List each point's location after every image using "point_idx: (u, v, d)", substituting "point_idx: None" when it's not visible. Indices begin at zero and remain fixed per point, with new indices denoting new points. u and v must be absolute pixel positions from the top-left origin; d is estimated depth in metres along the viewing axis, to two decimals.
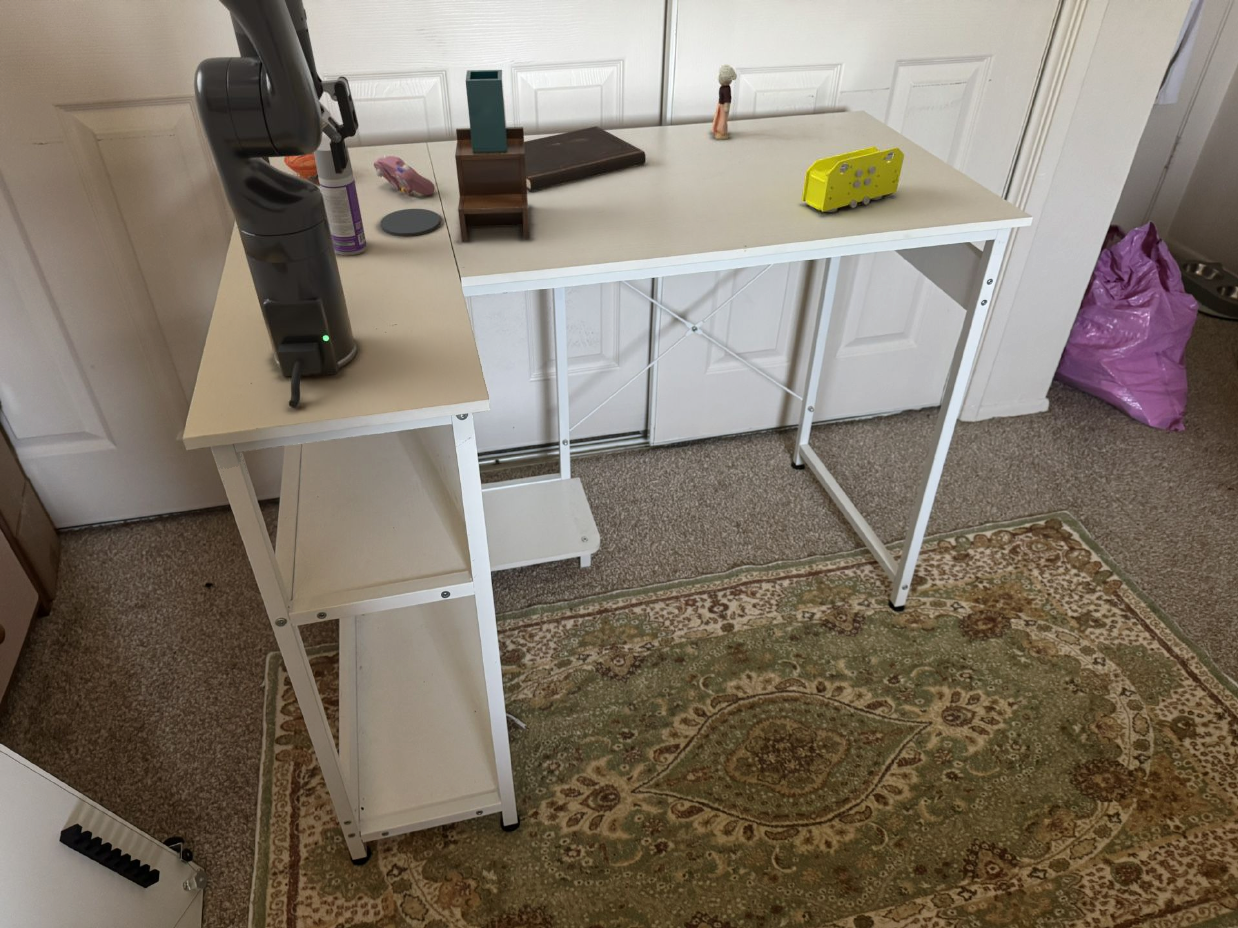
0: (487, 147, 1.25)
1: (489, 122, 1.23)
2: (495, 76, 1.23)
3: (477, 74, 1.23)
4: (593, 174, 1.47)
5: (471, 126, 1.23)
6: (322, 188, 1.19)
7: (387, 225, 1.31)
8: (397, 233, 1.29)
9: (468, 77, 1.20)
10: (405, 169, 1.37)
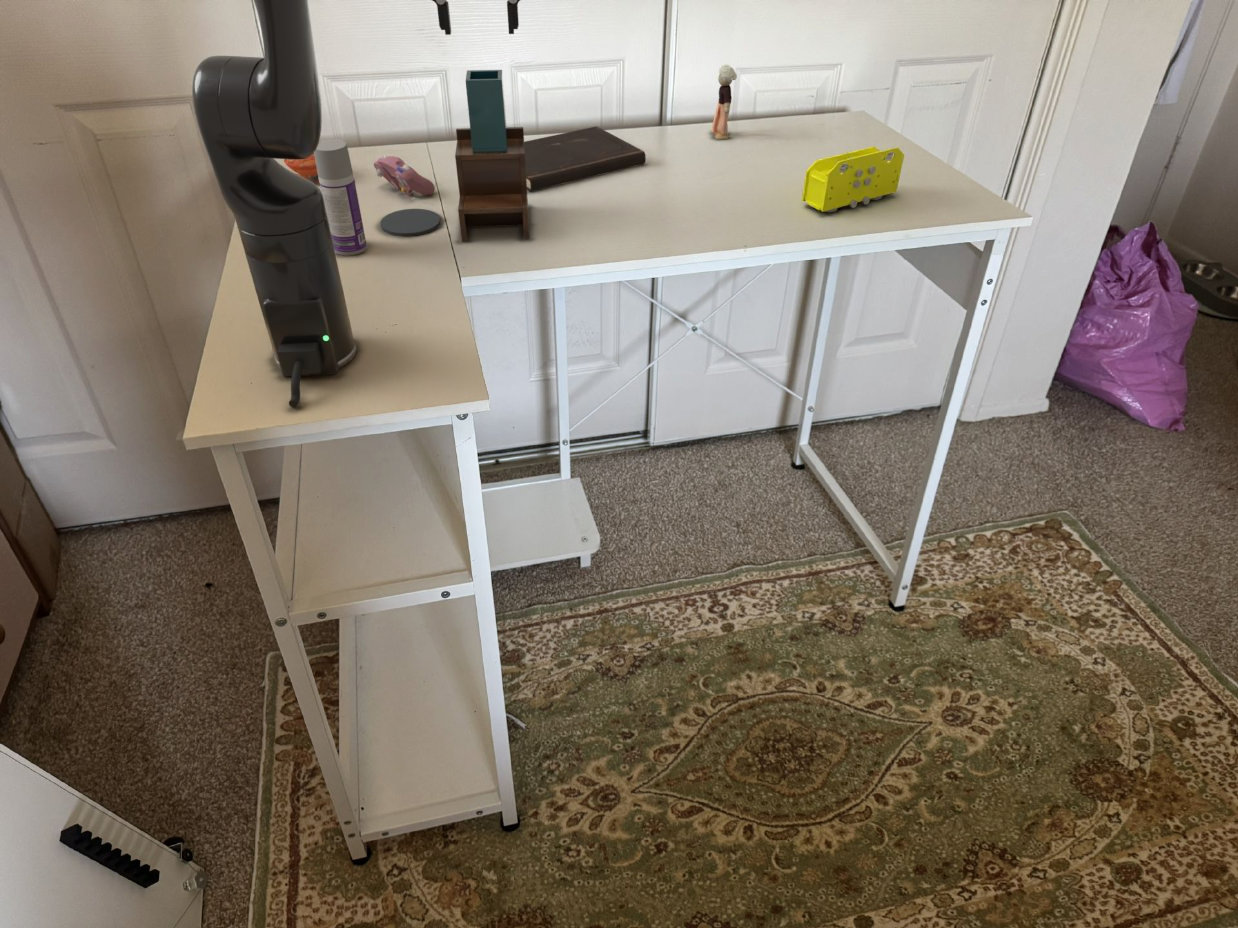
0: (487, 147, 1.25)
1: (489, 122, 1.23)
2: (495, 76, 1.23)
3: (477, 74, 1.23)
4: (593, 174, 1.47)
5: (471, 126, 1.23)
6: (322, 188, 1.19)
7: (387, 225, 1.31)
8: (397, 233, 1.29)
9: (468, 77, 1.20)
10: (405, 169, 1.37)
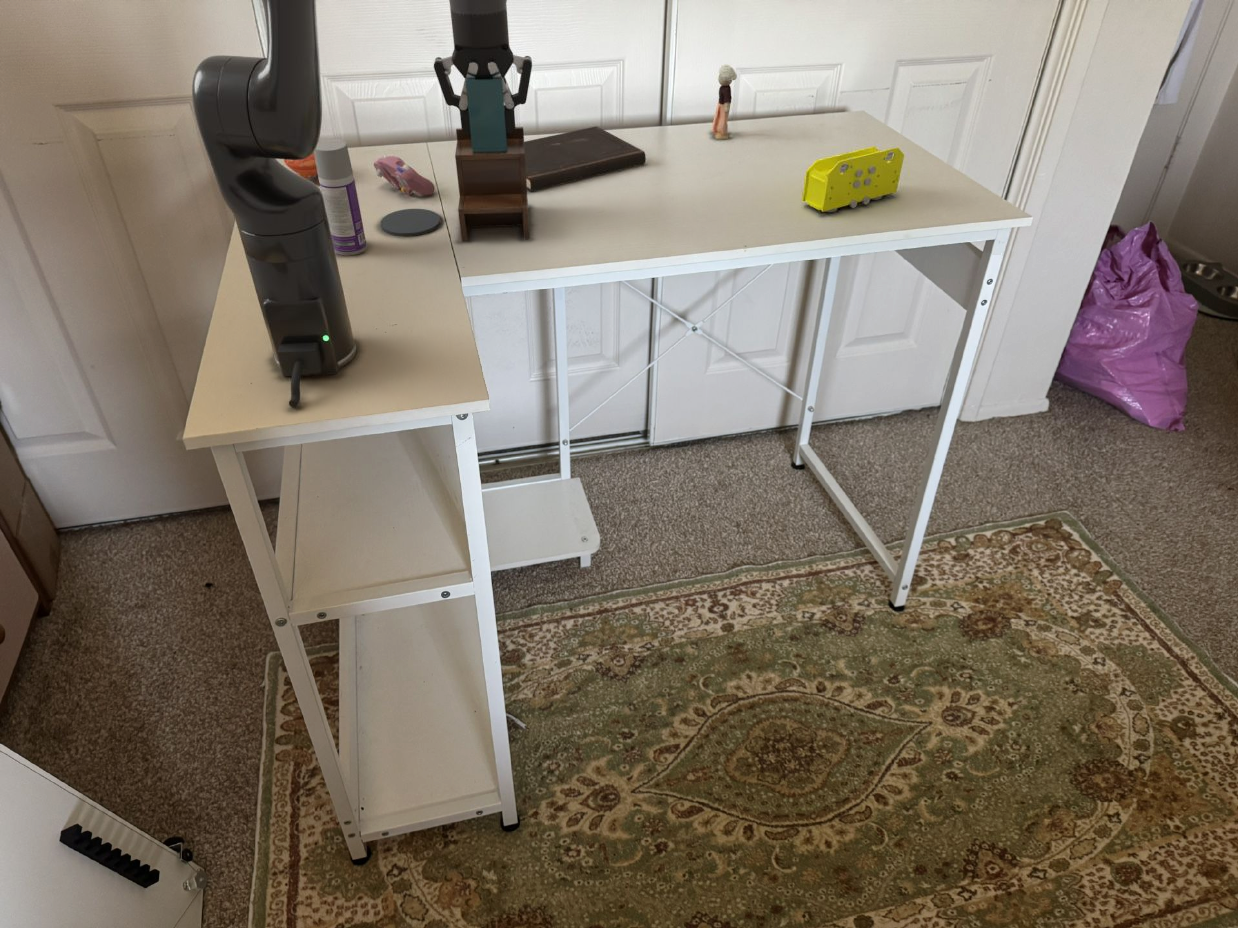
0: (487, 147, 1.25)
1: (489, 122, 1.23)
2: None
3: None
4: (593, 174, 1.47)
5: (471, 126, 1.23)
6: (322, 188, 1.19)
7: (387, 225, 1.31)
8: (397, 233, 1.29)
9: None
10: (405, 169, 1.37)
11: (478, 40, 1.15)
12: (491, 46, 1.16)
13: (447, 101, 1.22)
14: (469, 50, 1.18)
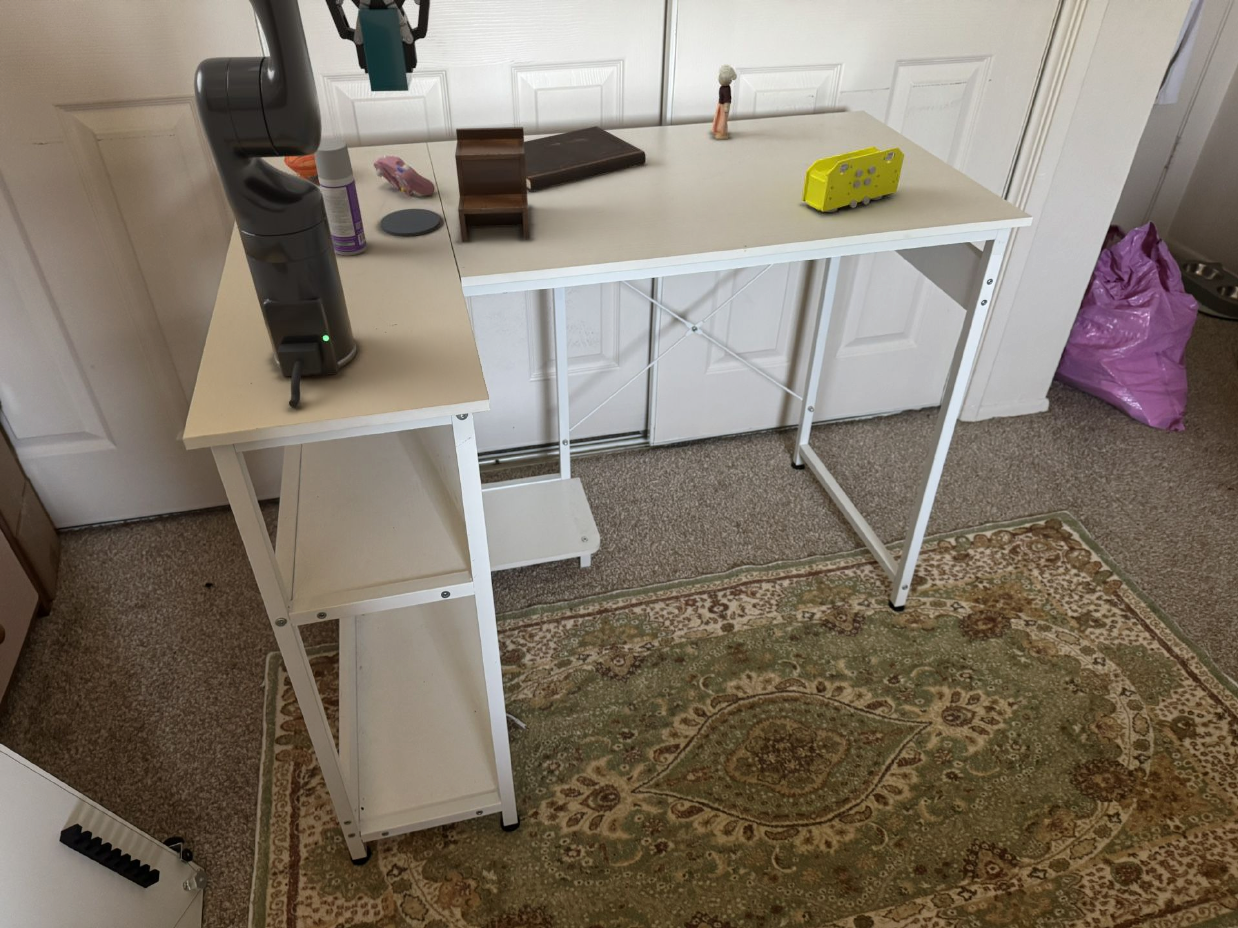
0: (386, 85, 1.18)
1: (387, 57, 1.15)
2: None
3: None
4: (593, 174, 1.47)
5: (367, 61, 1.15)
6: (322, 188, 1.19)
7: (387, 225, 1.31)
8: (397, 233, 1.29)
9: None
10: (405, 169, 1.37)
11: None
12: None
13: (341, 34, 1.14)
14: None
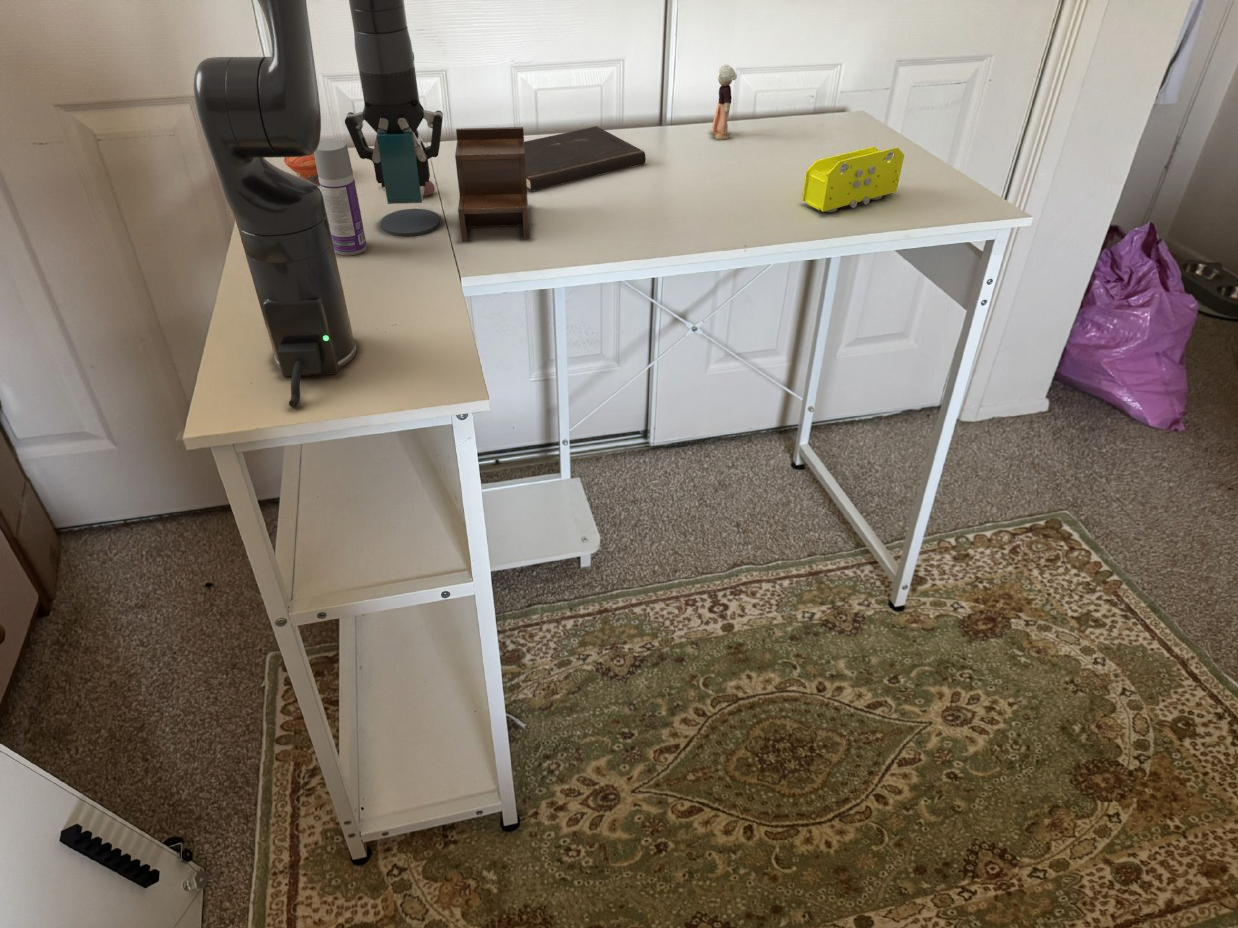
0: (402, 198, 1.28)
1: (402, 174, 1.26)
2: None
3: None
4: (593, 174, 1.47)
5: (385, 178, 1.26)
6: (322, 188, 1.19)
7: (387, 225, 1.31)
8: (397, 233, 1.29)
9: None
10: None
11: (385, 98, 1.17)
12: (399, 103, 1.18)
13: (360, 155, 1.24)
14: (379, 106, 1.21)
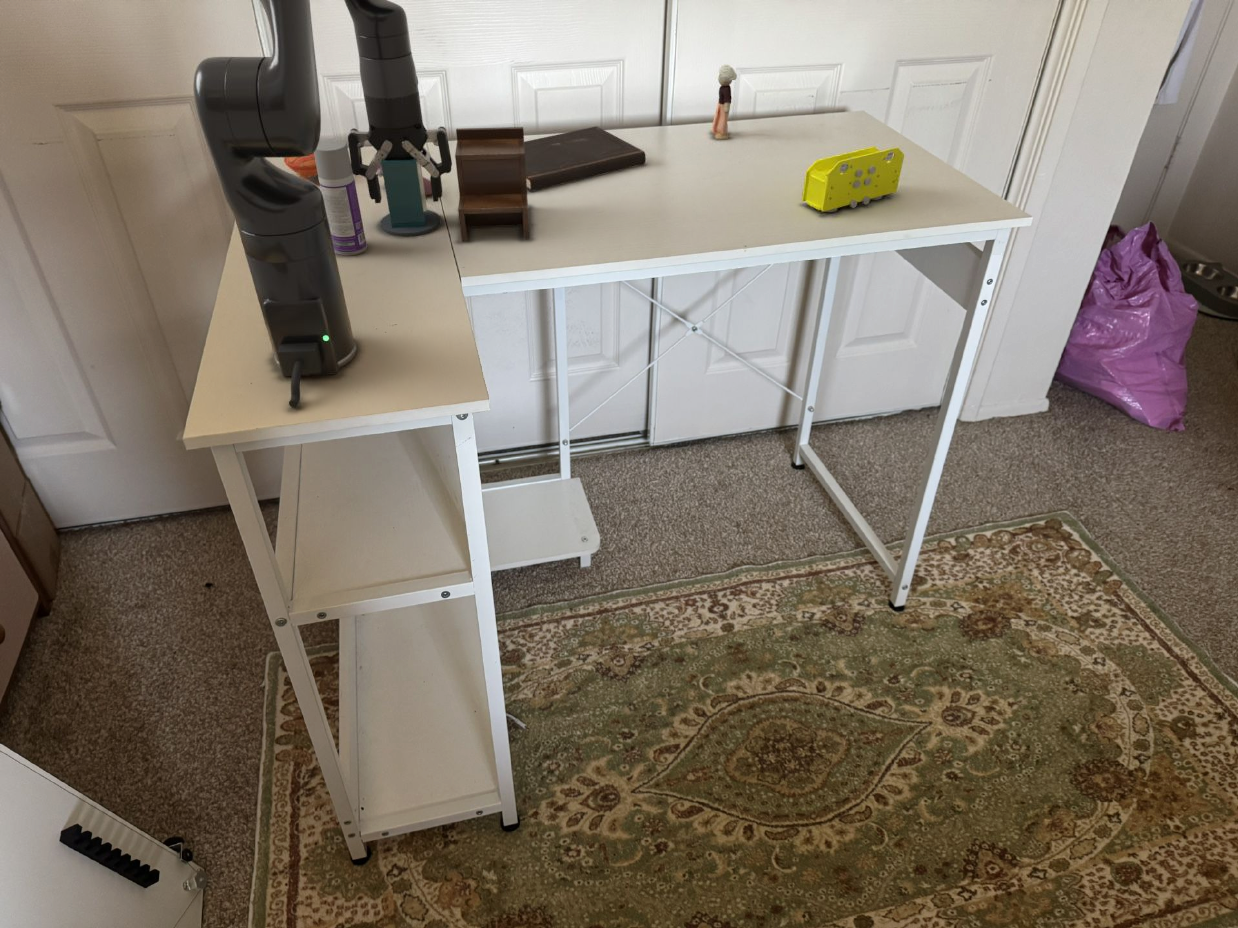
0: (405, 222, 1.30)
1: (406, 199, 1.28)
2: None
3: None
4: (593, 174, 1.47)
5: (389, 203, 1.28)
6: (322, 188, 1.19)
7: (387, 225, 1.31)
8: (397, 233, 1.29)
9: None
10: None
11: (389, 121, 1.19)
12: (403, 127, 1.20)
13: (353, 171, 1.26)
14: (383, 129, 1.23)
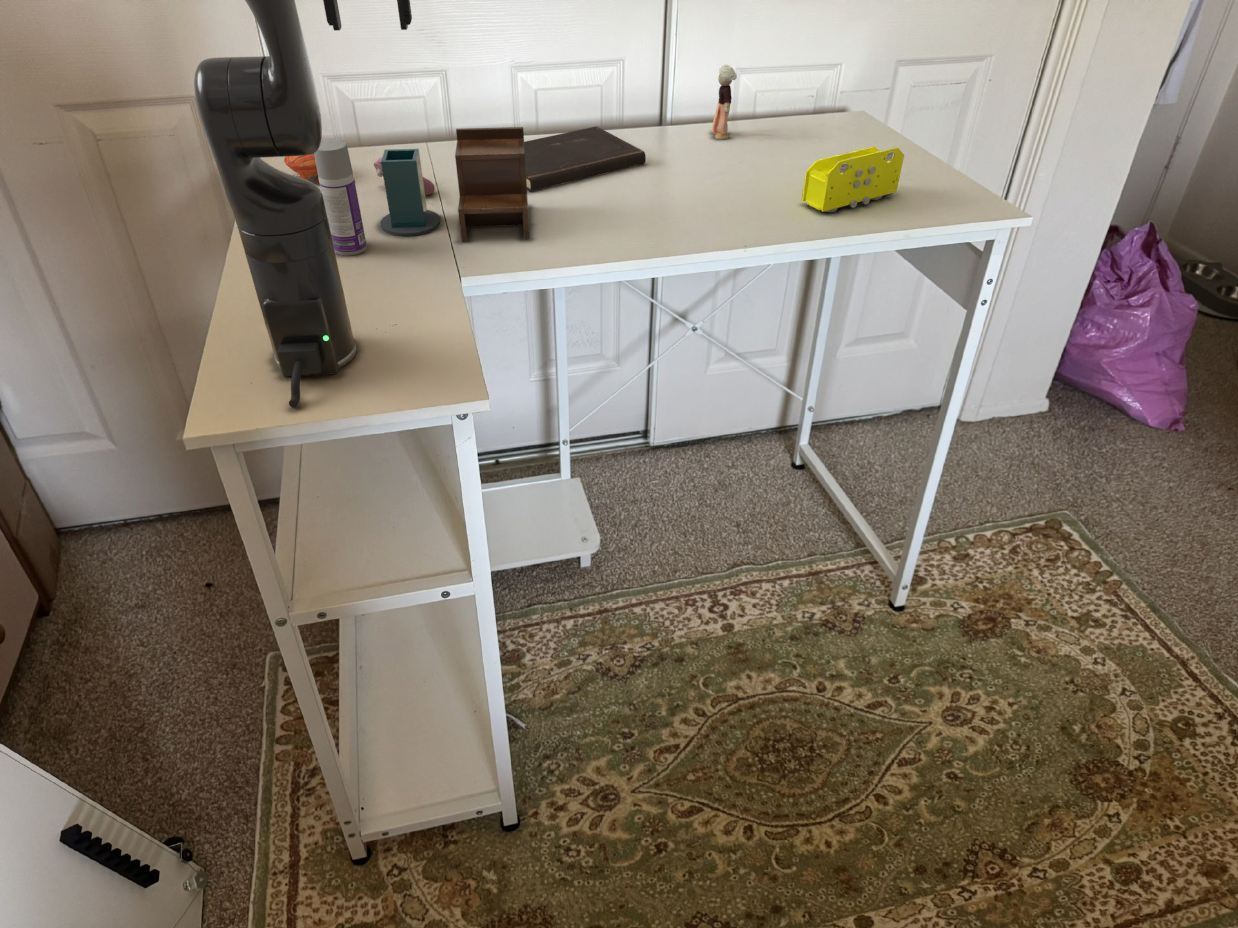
0: (405, 222, 1.30)
1: (406, 199, 1.28)
2: (412, 155, 1.28)
3: (394, 153, 1.28)
4: (593, 174, 1.47)
5: (389, 203, 1.28)
6: (322, 188, 1.19)
7: (387, 225, 1.31)
8: (397, 233, 1.29)
9: (384, 158, 1.25)
10: None
11: None
12: None
13: None
14: None
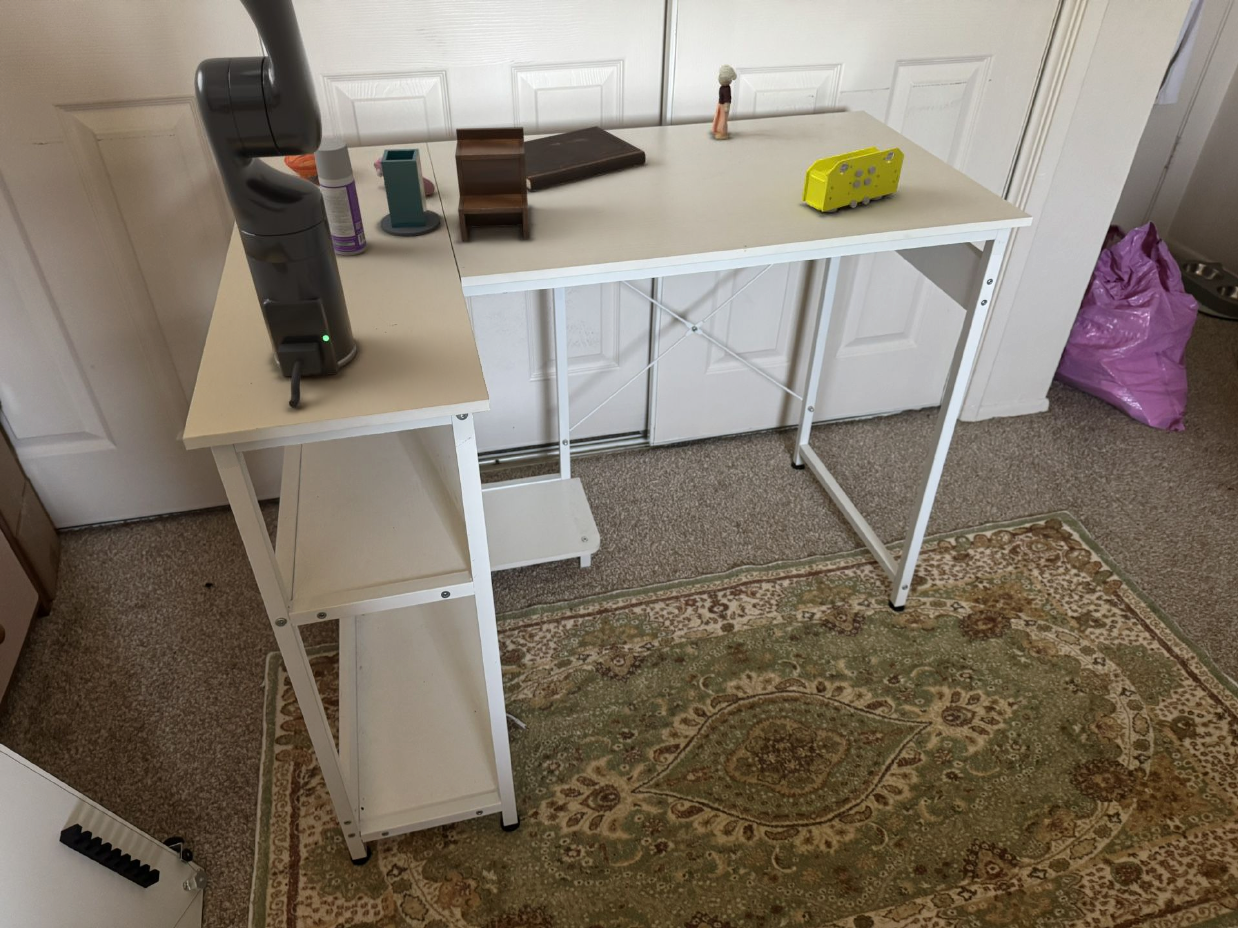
0: (405, 222, 1.30)
1: (406, 199, 1.28)
2: (412, 155, 1.28)
3: (394, 153, 1.28)
4: (593, 174, 1.47)
5: (389, 203, 1.28)
6: (322, 188, 1.19)
7: (387, 225, 1.31)
8: (397, 233, 1.29)
9: (384, 158, 1.25)
10: None
11: None
12: None
13: None
14: None
